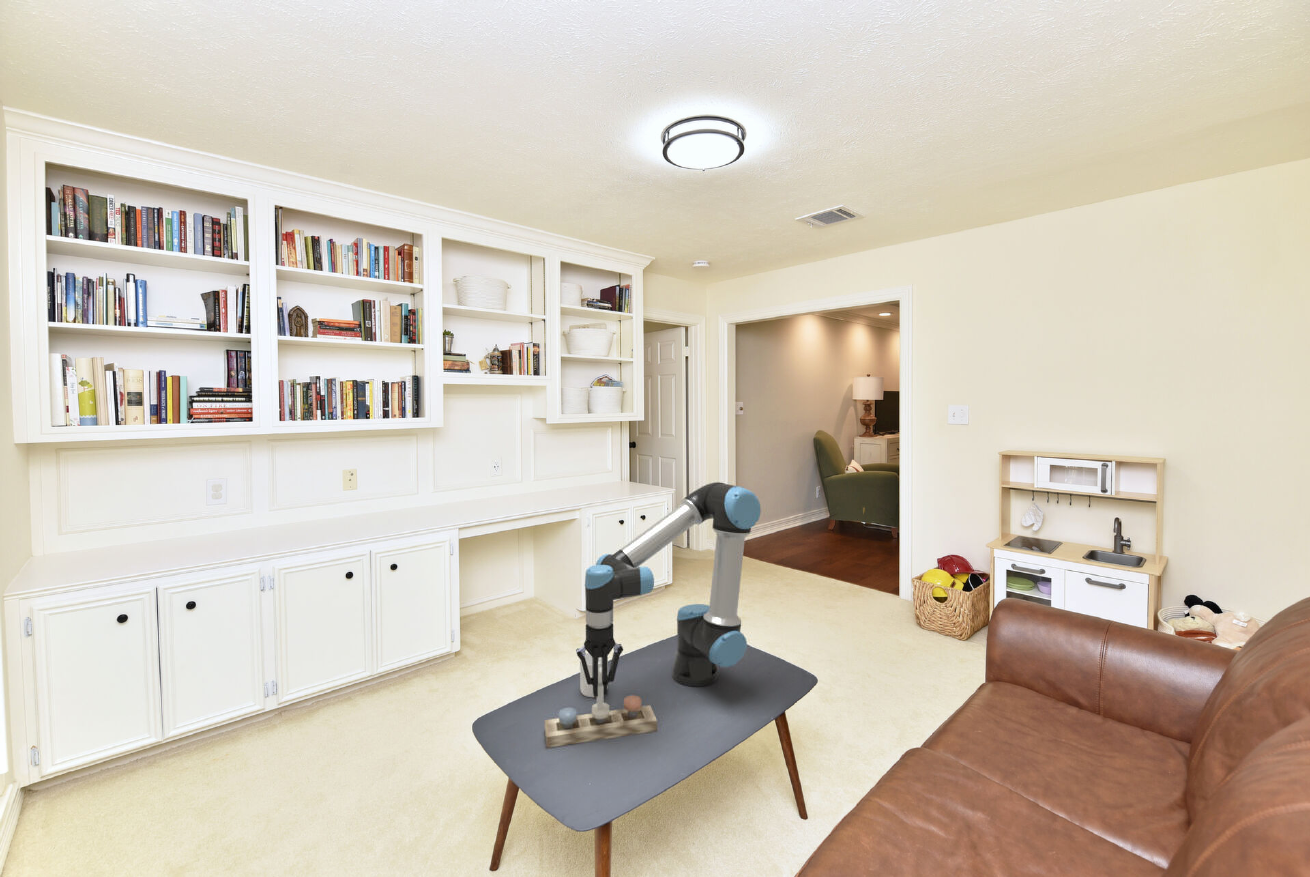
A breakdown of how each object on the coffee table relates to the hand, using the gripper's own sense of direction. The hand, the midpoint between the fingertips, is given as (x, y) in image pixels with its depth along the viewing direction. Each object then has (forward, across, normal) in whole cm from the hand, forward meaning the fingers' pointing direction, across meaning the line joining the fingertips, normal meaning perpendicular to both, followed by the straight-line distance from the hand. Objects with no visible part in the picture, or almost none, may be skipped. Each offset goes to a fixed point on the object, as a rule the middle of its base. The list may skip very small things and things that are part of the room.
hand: (600, 706), depth 160 cm
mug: (+7, -2, -20) cm, 21 cm away
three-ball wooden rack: (+7, 0, 0) cm, 7 cm away
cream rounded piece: (+5, 0, 0) cm, 5 cm away
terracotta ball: (+4, -9, 0) cm, 10 cm away
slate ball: (+5, +9, 0) cm, 10 cm away
